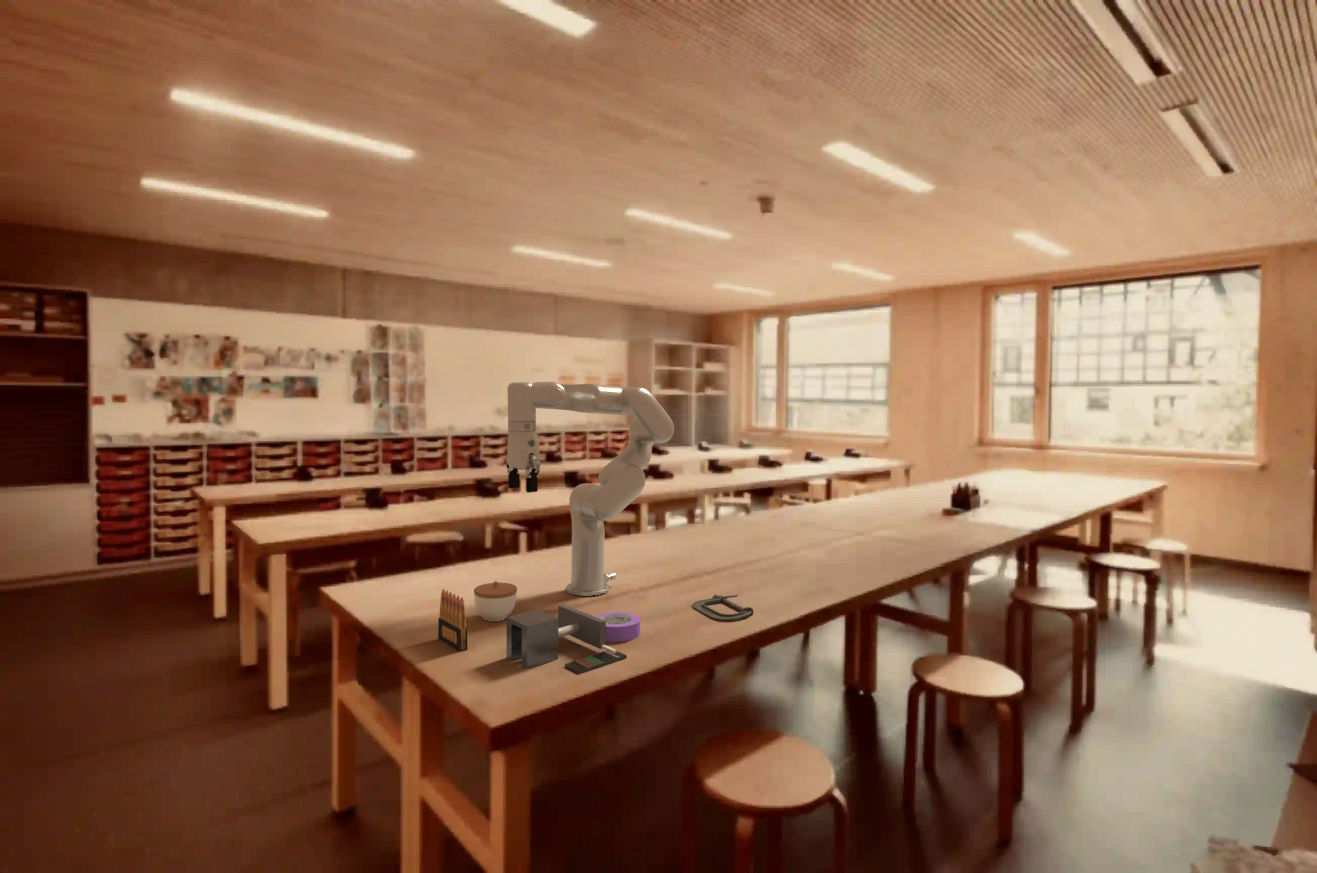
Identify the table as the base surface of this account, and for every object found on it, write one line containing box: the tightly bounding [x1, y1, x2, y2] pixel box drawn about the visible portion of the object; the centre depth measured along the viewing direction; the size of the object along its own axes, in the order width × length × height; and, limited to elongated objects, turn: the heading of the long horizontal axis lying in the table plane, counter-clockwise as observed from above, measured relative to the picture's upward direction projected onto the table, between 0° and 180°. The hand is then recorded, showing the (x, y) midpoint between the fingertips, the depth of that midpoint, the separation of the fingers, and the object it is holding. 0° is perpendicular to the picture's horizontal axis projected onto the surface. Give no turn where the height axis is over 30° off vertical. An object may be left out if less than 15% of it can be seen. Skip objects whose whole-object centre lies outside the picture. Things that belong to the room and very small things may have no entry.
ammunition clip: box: [437, 588, 468, 653], centre depth 155 cm, size 11×2×12 cm, turn 44°
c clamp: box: [691, 593, 754, 623], centre depth 185 cm, size 20×17×3 cm
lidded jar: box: [473, 580, 518, 622], centre depth 174 cm, size 11×11×9 cm
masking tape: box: [594, 611, 641, 643], centre depth 164 cm, size 12×12×4 cm
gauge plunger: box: [557, 604, 617, 653], centre depth 150 cm, size 16×20×6 cm
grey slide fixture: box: [505, 609, 628, 675], centre depth 148 cm, size 20×18×9 cm
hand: (522, 489), depth 186 cm, fingers open, 9 cm apart
